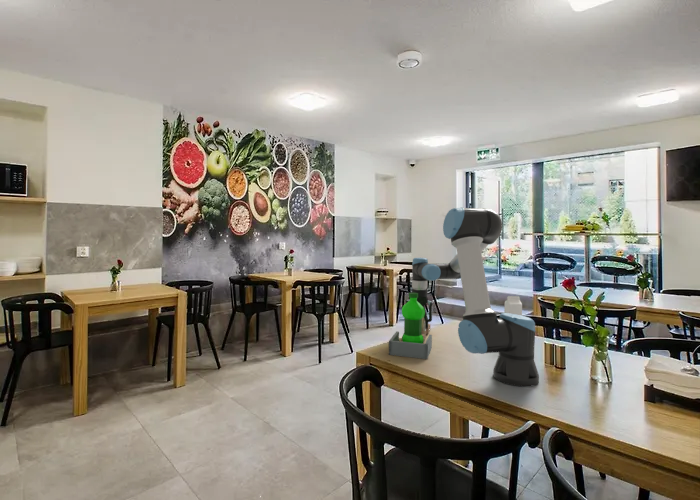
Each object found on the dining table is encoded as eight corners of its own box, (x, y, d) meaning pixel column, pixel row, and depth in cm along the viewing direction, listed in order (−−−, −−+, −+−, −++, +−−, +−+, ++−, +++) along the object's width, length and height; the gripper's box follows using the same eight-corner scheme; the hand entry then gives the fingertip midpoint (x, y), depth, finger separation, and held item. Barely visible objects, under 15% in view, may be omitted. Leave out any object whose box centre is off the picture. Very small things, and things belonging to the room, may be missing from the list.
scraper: (423, 342, 173) (423, 321, 173) (406, 340, 176) (406, 319, 175) (430, 329, 200) (430, 311, 199) (415, 328, 202) (415, 309, 202)
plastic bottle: (422, 352, 164) (423, 295, 162) (399, 349, 167) (399, 294, 166) (425, 345, 173) (426, 292, 172) (403, 343, 177) (403, 290, 175)
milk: (503, 339, 184) (504, 295, 183) (515, 339, 184) (516, 295, 183) (508, 343, 178) (509, 297, 177) (521, 343, 178) (522, 297, 177)
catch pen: (427, 359, 155) (427, 345, 155) (388, 354, 160) (388, 340, 160) (431, 347, 170) (431, 334, 170) (396, 344, 175) (396, 331, 175)
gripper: (438, 288, 187) (438, 334, 188) (403, 286, 193) (402, 330, 194) (437, 290, 180) (436, 338, 181) (400, 288, 186) (399, 334, 187)
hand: (418, 334), depth 188 cm, fingers closed on scraper, 5 cm apart
